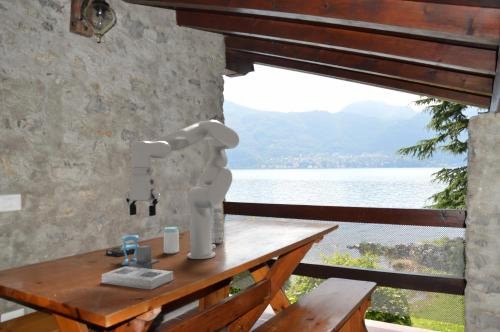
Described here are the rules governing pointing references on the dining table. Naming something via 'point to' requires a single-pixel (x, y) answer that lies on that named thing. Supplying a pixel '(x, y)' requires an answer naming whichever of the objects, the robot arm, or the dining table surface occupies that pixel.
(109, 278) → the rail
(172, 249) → the can
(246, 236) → the dining table surface
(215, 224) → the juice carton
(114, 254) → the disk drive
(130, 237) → the chair
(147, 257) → the flanged block
